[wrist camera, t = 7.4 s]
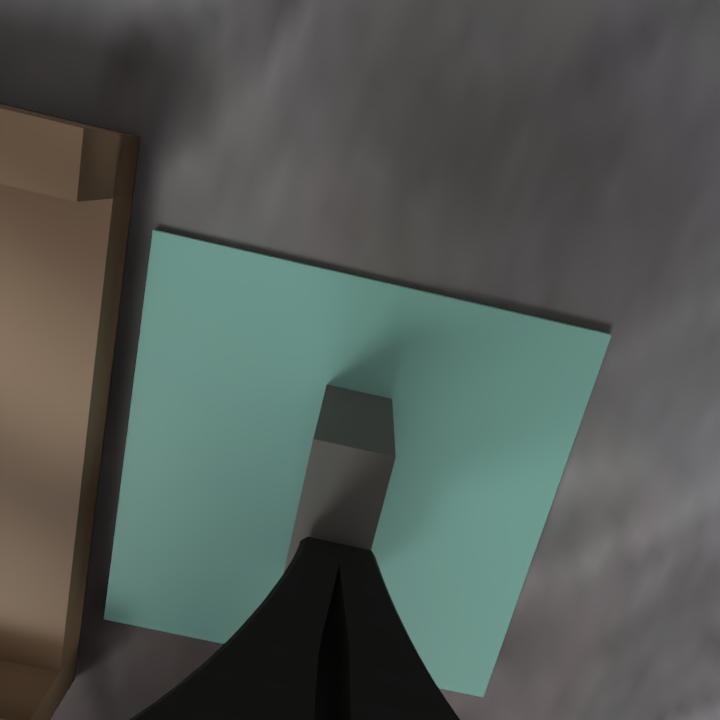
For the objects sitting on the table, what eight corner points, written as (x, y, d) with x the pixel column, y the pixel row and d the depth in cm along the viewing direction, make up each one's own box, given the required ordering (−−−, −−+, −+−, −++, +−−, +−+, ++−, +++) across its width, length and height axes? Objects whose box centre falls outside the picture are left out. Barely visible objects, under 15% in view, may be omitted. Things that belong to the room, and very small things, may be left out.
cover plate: (478, 673, 17) (506, 810, 13) (116, 598, 17) (42, 718, 13) (598, 326, 14) (675, 378, 10) (165, 226, 14) (88, 245, 10)
